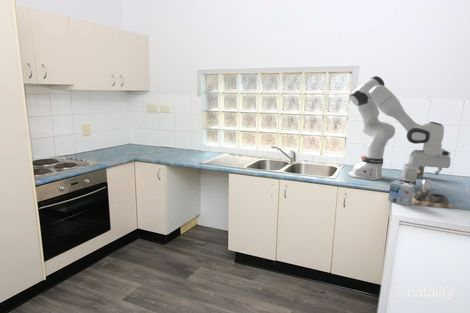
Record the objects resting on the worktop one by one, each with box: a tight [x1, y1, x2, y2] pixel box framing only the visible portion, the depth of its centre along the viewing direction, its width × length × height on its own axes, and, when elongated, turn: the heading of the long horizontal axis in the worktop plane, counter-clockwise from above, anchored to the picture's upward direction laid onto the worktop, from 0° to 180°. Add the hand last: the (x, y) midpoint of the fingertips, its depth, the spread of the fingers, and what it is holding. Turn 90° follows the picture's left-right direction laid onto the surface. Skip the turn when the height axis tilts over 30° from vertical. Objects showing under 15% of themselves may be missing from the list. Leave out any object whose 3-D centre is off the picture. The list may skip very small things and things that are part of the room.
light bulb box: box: [387, 179, 416, 207], centre depth 176 cm, size 11×7×11 cm, turn 45°
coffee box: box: [407, 153, 425, 179], centre depth 228 cm, size 9×6×16 cm
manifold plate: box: [412, 190, 453, 209], centre depth 176 cm, size 18×12×6 cm, turn 80°
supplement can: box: [400, 163, 418, 189], centre depth 201 cm, size 8×8×15 cm
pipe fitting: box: [420, 178, 432, 196], centre depth 187 cm, size 4×4×10 cm
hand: (427, 174), depth 185 cm, fingers open, 8 cm apart
